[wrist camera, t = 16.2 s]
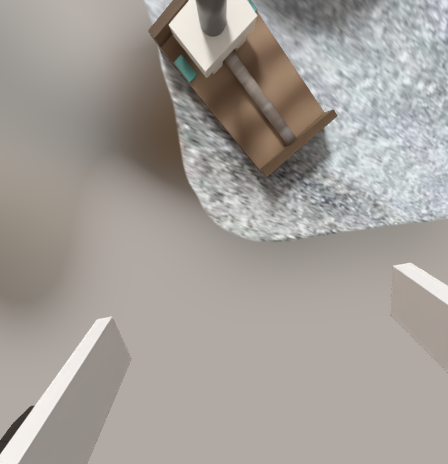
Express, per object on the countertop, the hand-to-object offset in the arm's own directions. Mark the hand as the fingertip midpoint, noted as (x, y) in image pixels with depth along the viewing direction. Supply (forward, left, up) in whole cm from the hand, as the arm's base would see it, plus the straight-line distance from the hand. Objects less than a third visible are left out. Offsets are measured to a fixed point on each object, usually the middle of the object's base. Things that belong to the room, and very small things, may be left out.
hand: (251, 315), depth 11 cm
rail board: (+10, -12, -31) cm, 35 cm away
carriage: (+17, -12, -28) cm, 35 cm away
